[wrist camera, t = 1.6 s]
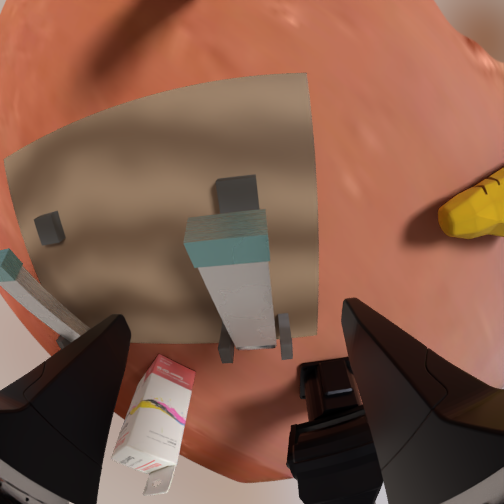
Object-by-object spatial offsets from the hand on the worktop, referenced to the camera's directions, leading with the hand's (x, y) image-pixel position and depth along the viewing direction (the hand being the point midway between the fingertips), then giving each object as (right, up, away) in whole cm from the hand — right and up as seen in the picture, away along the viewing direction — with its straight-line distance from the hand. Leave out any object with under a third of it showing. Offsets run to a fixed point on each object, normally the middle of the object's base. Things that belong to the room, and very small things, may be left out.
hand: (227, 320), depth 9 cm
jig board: (-8, +4, +12) cm, 15 cm away
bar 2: (0, 0, +7) cm, 7 cm away
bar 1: (-15, -2, +8) cm, 18 cm away
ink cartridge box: (-10, -13, +20) cm, 26 cm away
